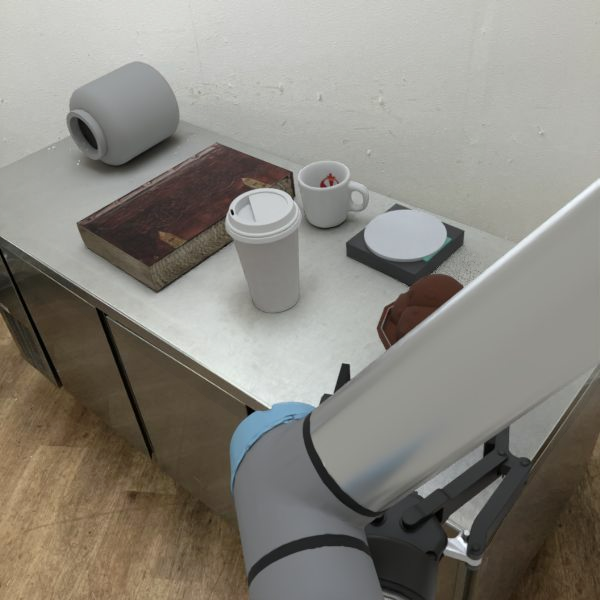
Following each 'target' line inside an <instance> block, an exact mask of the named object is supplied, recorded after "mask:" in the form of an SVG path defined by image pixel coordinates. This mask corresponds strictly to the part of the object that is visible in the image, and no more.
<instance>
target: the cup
mask: <svg viewBox="0 0 600 600" xmlns="http://www.w3.org/2000/svg"><path fill="white" fill-rule="evenodd" d="M351 178H352V174H351V171H350V169H349V167H348V166H347V165H345V164H343V163H341V162H338V161H333V160H321V161H320V160H319V161H315V162H312V163H308V164H307V165H305V166H304V167H302V168H301V169H300V170H299V172H298V173H297V176H296V181H297V186H298V189H299V195H300V198H301V202H302V207H303V210H304V214H305V217H306V219H307V221H308V222H309V223H310V224H311V225H313V226H314V227H317V228H323V229H324V228H325V229H326V228H333V227H337V226H339V225H340V224H342V223H343V222H344V221H345V220H346V219H347V217H348V214H349V212H354V213H359V212H363V211H364V210H366V208H367V207H368V205H369V203H370V193H369V190H368V188H367V187H366V186H365V185H364V184H362V183H359V182H356V181H353V180H352V179H351ZM353 192H357V193H359V194H360V195H361V196H362V202H361V203H360V204H359V203H355V202H354V200H353V198H352V194H353Z"/></svg>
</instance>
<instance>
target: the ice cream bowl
mask: <svg viewBox="0 0 600 600" xmlns="http://www.w3.org/2000/svg"><path fill="white" fill-rule="evenodd" d="M464 287H465V286H464V285H463V284H462V283H461V282H460V281H458V280H457V279H456V278H454V277H453V276H451V275H448V274H444V273H431V274H430V275H427V276H425V277H422V278H420V279H419V280H418V281H417V282H415V283H414V284H413V285H412V286H410V287H409V288H408V291H406V292H404V293H403V292H402V293H400V294H399V295H398V297H397V298H396V299H395V300H394V301H392V302H390V303H388V304H387V305H385V306H384V307H383V310H382V312H381V315H380V318H379V320H378V323H377V325H376V332H377V335H378V338H379V340H380V341H381V343H382V346H383V347H384V349H385V351H387V350H388V349H389V348H390V347H392V346H393V345H394V344H395V343H396V342H398V341H399V340H400V339H401V338H403V337H404V336H405V335H406V334H408V333H409V332H410V331H411V330H412V329H414V328H415V327H416V326H417V325H419V324H420V323H421V322H422V321H423V320H425V319H426V318H427V317H428V316H430V315H431V314H432V313H433V312H435V311H436V310H437V309H438V308H439V307H441V306H442V305H443V304H444V303H446V302H447V301H448V300H449V299H451V298H452V297H453V296H454V295H455V294H457V293H458V292H459V291H460V290H462V289H463V288H464Z"/></svg>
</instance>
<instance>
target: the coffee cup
mask: <svg viewBox="0 0 600 600" xmlns="http://www.w3.org/2000/svg"><path fill="white" fill-rule="evenodd" d="M302 218H303V216H302V212H301V209H300V207H299V206H298V203H296V201H295V200H293V198H291V196H290V195H289V194H287V193H286V192H284V191H281V190H278V189H273V188H261V189H255V190H251V191H248V192H246V193H243V194H242V195H240V196H238V197H237V198H236V199H235V200H234V201H233V202H232V203H231V205H230V207H229V211H228V213H227V216H226V221H225V228H226V231H227V232H228V234H229V235H230V236H231V237H232V238H233V240H232V241H233V243H234V247H235V250H236V253H237V255H238V258H239V259H238V260H239V262H240V265H241V269H242V272H243V274H244V278H245V280H246V281H245V282H246V284H247V287H248V291H249V293H250V296H251V300H252V302H253V305H254V306H255V308H257V309H258V310H260V311H262V312H265V313H271V314H276V313H282V312H286V311H288V310H289V309H291V308H293V307H294V306H295V305H296V304H297V303H298V302H299V300H300V294H301V293H300V290H301V288H300V251H299V250H300V248H299V247H300V246H299V242H300V241H299V226H300V225H301V223H302Z"/></svg>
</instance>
